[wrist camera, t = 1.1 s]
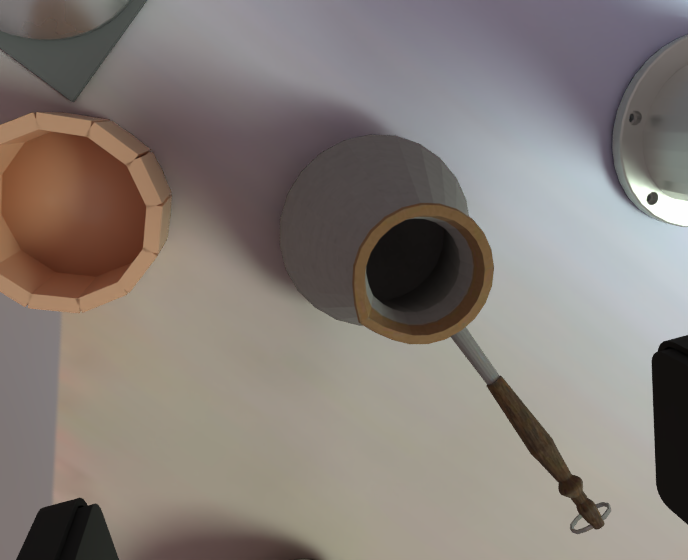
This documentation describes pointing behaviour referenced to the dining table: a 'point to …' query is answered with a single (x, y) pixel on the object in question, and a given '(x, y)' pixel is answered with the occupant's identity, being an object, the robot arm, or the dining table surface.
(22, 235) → the bowl
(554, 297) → the dining table surface
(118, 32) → the mat
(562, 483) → the coffee pot
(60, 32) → the lid
